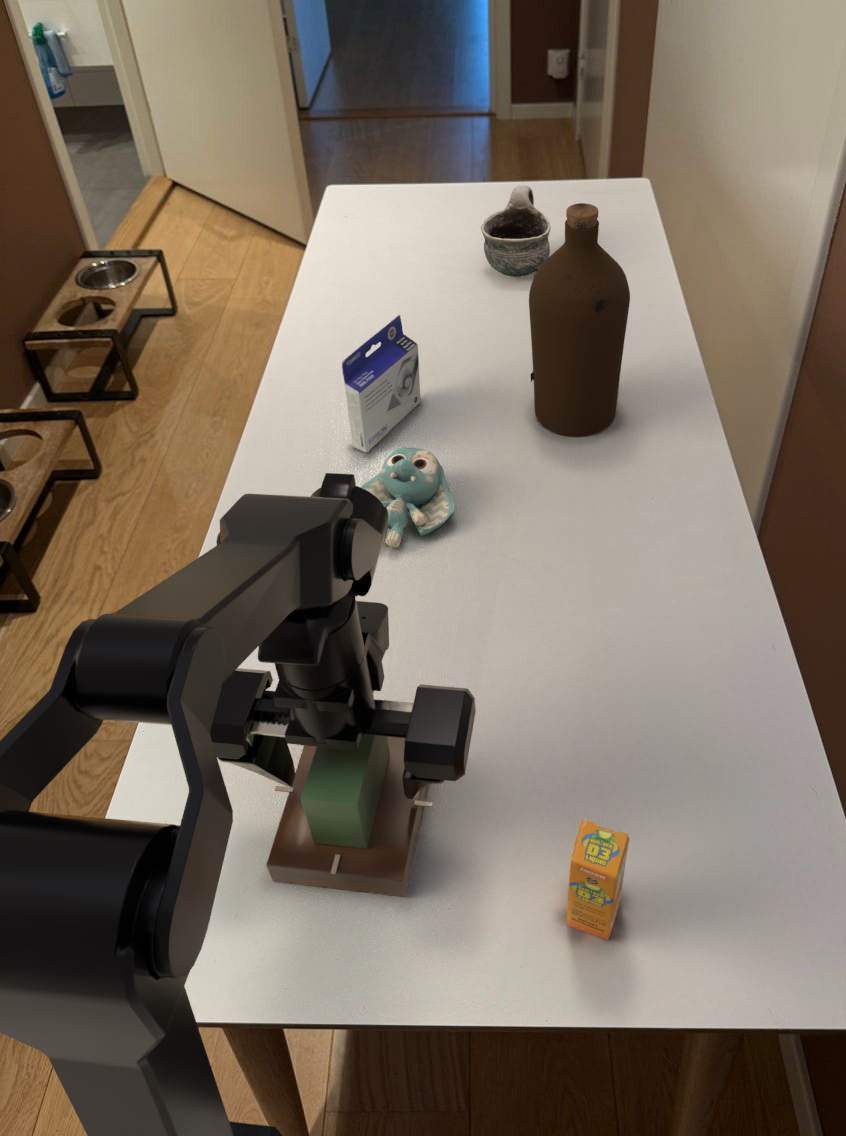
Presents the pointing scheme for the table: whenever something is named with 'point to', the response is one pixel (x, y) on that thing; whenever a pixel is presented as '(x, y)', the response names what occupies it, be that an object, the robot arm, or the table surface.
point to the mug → (517, 236)
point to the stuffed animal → (412, 492)
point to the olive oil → (578, 330)
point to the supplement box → (596, 878)
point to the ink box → (381, 385)
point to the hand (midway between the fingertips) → (350, 787)
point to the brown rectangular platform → (350, 866)
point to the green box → (345, 792)
